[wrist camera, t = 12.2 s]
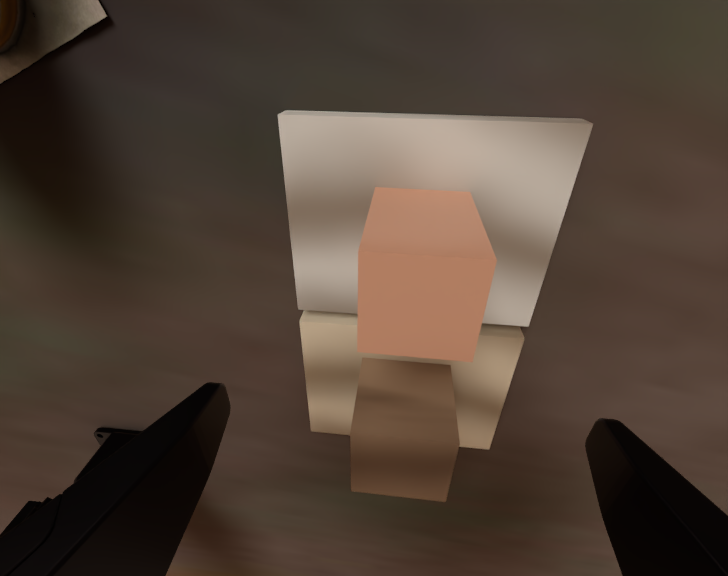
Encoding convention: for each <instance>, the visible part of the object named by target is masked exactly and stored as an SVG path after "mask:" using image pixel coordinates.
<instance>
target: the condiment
mask: <svg viewBox="0 0 728 576" xmlns="http://www.w3.org/2000/svg"><path fill="white" fill-rule="evenodd" d="M32 13H35V14H36V16H35V17H34V16H33V15H32ZM105 17H107V16H106V14H105V12H104V10H103V8H102V6H101V4H100V3H99V1H98V0H0V84H1V83H2V82H3V81H5V80H7V79H9V78H11V77H12V76H14V75H16V74H17V73H19V72H20V71H21V70H23V69H25V68H27V67H28V66H30V65H31V64H33V63H34V62H36V61H38V60H39V59H40V58H41V57H43V56H44V55H45V54H47V53H48V52H50V51H52V50H54V49H56V48H58V47H59V46H61V45H62V44H64V43H66V42H68V41H69V40H71V39H73V38H74V37H76V36H77V35H79V34H80V33H81V32H83V31H84V30H85V29H87V28H88V27H90V26H92V25H94V24H95V23H97V22H99V21H100V20H102V19H103V18H105Z"/></svg>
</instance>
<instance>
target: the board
mask: <svg viewBox="0 0 728 576" xmlns="http://www.w3.org/2000/svg"><path fill="white" fill-rule="evenodd" d="M278 122H279V132H280V141H281V151H282V160H283V170H284V179H285V189H286V198H287V208H288V217H289V227H290V236H291V246H292V255H293V265H294V274H295V284H296V293H297V303H298V309H299V310H304V311H303V314H302V316H301V319H300V321H299V322H300V331H301V340H302V350H303V359H304V369H305V378H306V388H307V397H308V407H309V416H310V426H311V431H313V432H323V433H333V434H342V435H350V431H351V424H352V418H353V412H354V406H355V400H356V394H357V388H358V381H359V375H360V369H361V363H362V357H363V358H375V359H387V360H398V361H410V362H422V363H434V364H446V365H451V373H452V381H453V390H454V398H455V407H456V415H457V424H458V432H459V441H460V445H459V447H468V448H478V449H488V450H489V448H490V445H491V442H492V439H493V436H494V433H495V430H496V426H497V423H498V420H499V417H500V414H501V411H502V408H503V405H504V401H505V398H506V395H507V392H508V389H509V386H510V383H511V380H512V376H513V373H514V370H515V367H516V364H517V361H518V358H519V355H520V351H521V348H522V345H523V342H524V339H525V338H524V336H523V333H522V331H521V328H520V326H526V327H528V326H529V323H530V320H531V317H532V314H533V311H534V308H535V304H536V301H537V298H538V295H539V292H540V289H541V286H542V283H543V279H544V276H545V273H546V270H547V267H548V264H549V261H550V258H551V254H552V251H553V248H554V245H555V242H556V239H557V236H558V233H559V229H560V226H561V223H562V220H563V217H564V214H565V211H566V207H567V204H568V201H569V198H570V195H571V192H572V189H573V186H574V182H575V179H576V176H577V173H578V170H579V167H580V164H581V161H582V157H583V154H584V151H585V148H586V145H587V142H588V139H589V136H590V132H591V129H592V126H593V123H590V122H588V121H586V120H583V119H579V118H543V117H507V116H472V115H436V114H400V113H365V112H329V111H294V110H286V111H284V112H282V113H280V114H278ZM375 187H385V188H404V189H423V190H443V191H462V192H470V193H471V195H472V198H473V200H474V203H475V205H476V208H477V210H478V213H479V216H480V218H481V221H482V223H483V226H484V228H485V231H486V233H487V236H488V238H489V241H490V243H491V246H492V249H493V251H494V254H495V256H496V259H497V262H496V267H495V271H494V275H493V279H492V283H491V287H490V292H489V296H488V300H487V304H486V308H485V312H484V317H483V321H482V325H481V329H480V333H479V337H478V342H477V346H476V350H475V354H474V358H473V362H463V361H452V360H441V359H430V358H418V357H407V356H396V355H384V354H373V353H362V352H357V319H358V250H359V246H360V242H361V238H362V235H363V231H364V227H365V224H366V220H367V216H368V212H369V209H370V205H371V201H372V197H373V194H374V190H375Z"/></svg>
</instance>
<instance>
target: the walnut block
mask: <svg viewBox="0 0 728 576" xmlns="http://www.w3.org/2000/svg"><path fill="white" fill-rule="evenodd" d="M459 445H460V441H459V432H458V424H457V415H456V407H455V398H454V390H453V381H452V373H451V365H446V364H434V363H422V362H410V361H398V360H387V359H375V358H363V357H362V363H361V369H360V375H359V381H358V388H357V394H356V400H355V406H354V412H353V418H352V424H351V431H350V452H351V491H355V492H363V493H372V494H381V495H389V496H398V497H406V498H415V499H424V500H432V501H441V502H446V498H447V494H448V490H449V486H450V482H451V478H452V474H453V470H454V466H455V462H456V457H457V453H458V449H459Z"/></svg>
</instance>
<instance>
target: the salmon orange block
mask: <svg viewBox="0 0 728 576" xmlns="http://www.w3.org/2000/svg"><path fill="white" fill-rule="evenodd" d="M496 262H497V259H496V256H495V254H494V251H493V249H492V246H491V243H490V241H489V238H488V236H487V233H486V231H485V228H484V226H483V223H482V221H481V218H480V216H479V213H478V210H477V208H476V205H475V203H474V200H473V198H472V195H471V193H470V192H462V191H443V190H423V189H404V188H385V187H375V190H374V194H373V197H372V201H371V205H370V209H369V212H368V216H367V220H366V224H365V227H364V231H363V235H362V238H361V242H360V246H359V250H358V319H357V352H362V353H373V354H384V355H396V356H407V357H418V358H430V359H441V360H452V361H463V362H473V358H474V354H475V350H476V346H477V342H478V337H479V333H480V329H481V325H482V321H483V317H484V312H485V308H486V304H487V300H488V296H489V292H490V287H491V283H492V279H493V275H494V271H495V267H496Z"/></svg>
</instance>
